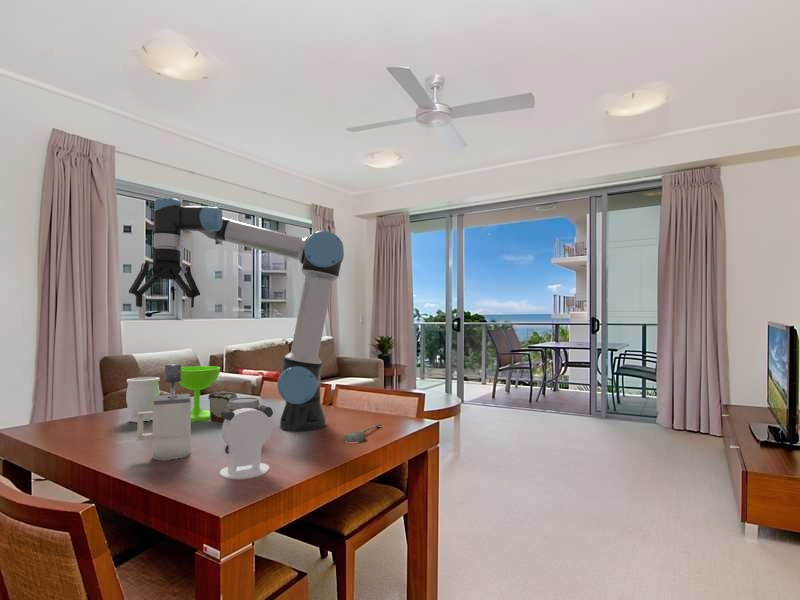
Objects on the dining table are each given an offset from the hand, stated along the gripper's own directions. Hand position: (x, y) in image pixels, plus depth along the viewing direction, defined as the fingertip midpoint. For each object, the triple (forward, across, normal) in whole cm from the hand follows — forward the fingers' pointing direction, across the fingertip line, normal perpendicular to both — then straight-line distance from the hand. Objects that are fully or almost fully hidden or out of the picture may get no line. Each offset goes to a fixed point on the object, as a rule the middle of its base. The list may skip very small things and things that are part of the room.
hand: (165, 318), depth 142 cm
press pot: (+37, +7, +18) cm, 41 cm away
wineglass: (+37, -22, -23) cm, 48 cm away
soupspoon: (+37, -44, +43) cm, 72 cm away
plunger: (+30, +6, +18) cm, 35 cm away
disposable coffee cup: (+37, -16, +19) cm, 44 cm away
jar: (+37, -7, -33) cm, 50 cm away
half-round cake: (+37, -25, -7) cm, 45 cm away
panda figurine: (+37, 0, +45) cm, 58 cm away
